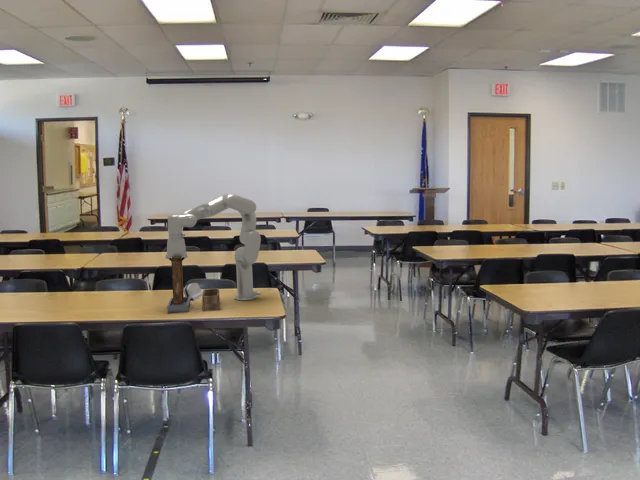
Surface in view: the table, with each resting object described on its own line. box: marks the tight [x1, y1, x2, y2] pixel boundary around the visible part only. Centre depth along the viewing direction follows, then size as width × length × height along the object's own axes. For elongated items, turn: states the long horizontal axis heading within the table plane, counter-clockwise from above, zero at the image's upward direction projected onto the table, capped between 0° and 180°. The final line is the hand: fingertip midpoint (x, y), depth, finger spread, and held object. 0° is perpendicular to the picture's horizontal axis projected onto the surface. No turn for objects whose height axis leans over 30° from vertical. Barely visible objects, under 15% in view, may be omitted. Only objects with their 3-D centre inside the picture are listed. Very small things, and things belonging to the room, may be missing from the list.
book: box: [170, 257, 185, 304], centre depth 310 cm, size 16×6×25 cm, turn 14°
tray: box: [166, 296, 191, 314], centre depth 312 cm, size 11×22×4 cm, turn 10°
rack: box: [201, 288, 221, 312], centre depth 315 cm, size 9×21×8 cm, turn 10°
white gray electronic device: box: [183, 282, 203, 301], centre depth 339 cm, size 17×5×10 cm, turn 169°
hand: (177, 268), depth 309 cm, fingers closed on book
